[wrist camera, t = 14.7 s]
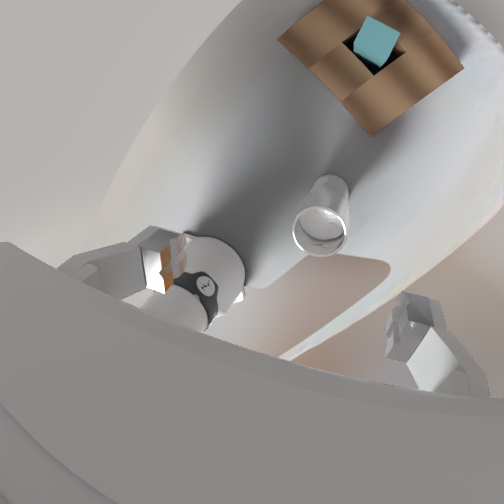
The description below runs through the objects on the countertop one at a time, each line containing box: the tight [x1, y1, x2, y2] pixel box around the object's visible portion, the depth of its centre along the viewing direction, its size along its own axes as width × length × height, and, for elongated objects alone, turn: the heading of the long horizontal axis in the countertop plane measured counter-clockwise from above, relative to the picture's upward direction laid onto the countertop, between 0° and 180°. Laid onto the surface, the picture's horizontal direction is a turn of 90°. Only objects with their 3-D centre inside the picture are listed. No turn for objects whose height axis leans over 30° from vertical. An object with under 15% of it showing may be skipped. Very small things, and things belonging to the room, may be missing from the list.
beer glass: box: [292, 175, 350, 257], centre depth 39 cm, size 7×7×15 cm
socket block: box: [277, 0, 464, 137], centre depth 29 cm, size 18×18×6 cm
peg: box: [354, 16, 400, 70], centre depth 27 cm, size 4×4×12 cm
